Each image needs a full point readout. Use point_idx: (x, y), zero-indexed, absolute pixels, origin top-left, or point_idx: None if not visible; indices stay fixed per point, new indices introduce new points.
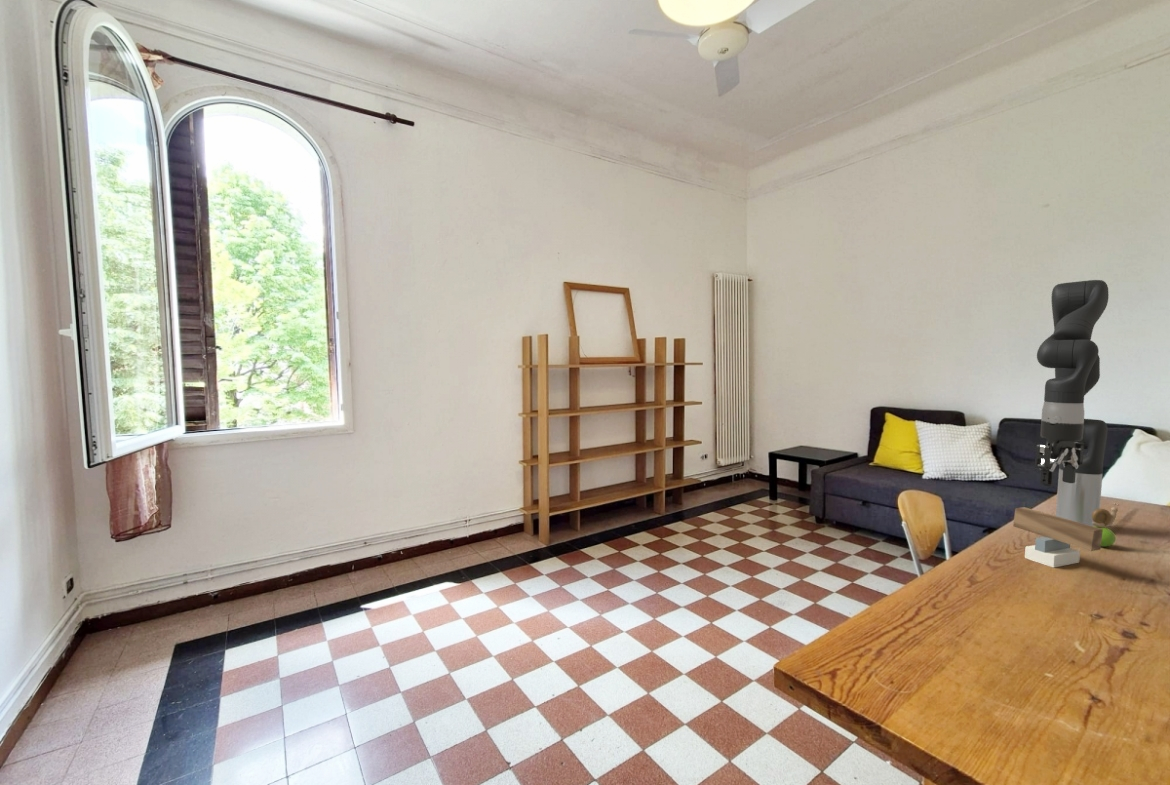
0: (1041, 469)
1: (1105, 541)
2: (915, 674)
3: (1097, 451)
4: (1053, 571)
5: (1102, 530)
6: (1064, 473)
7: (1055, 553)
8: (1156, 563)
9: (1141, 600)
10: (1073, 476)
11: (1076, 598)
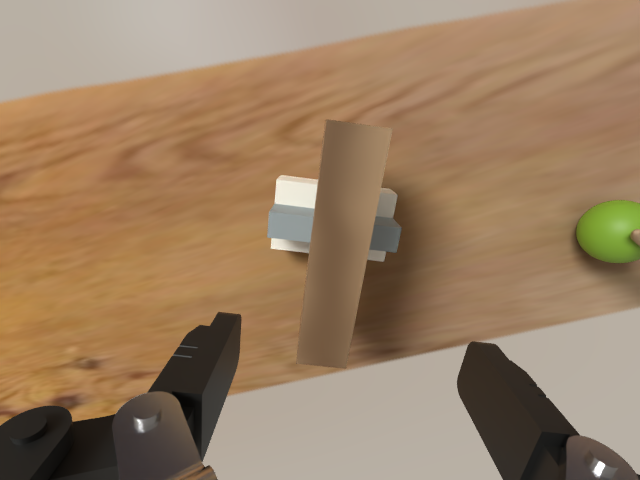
0: (111, 422)
1: (582, 246)
2: None
3: None
4: (248, 247)
5: (343, 365)
6: (503, 392)
7: (294, 242)
8: (535, 324)
9: (246, 372)
10: (479, 431)
11: (132, 324)
